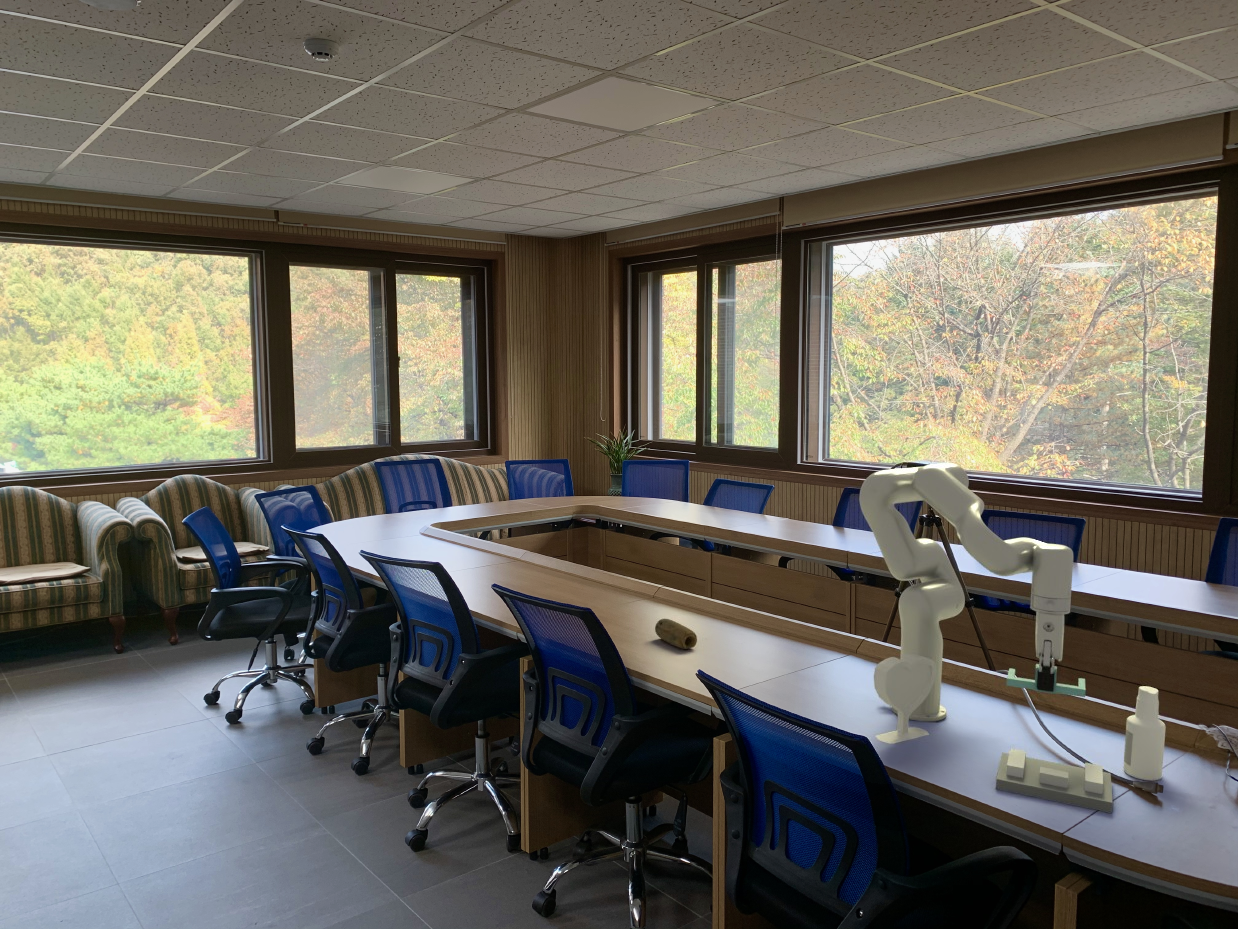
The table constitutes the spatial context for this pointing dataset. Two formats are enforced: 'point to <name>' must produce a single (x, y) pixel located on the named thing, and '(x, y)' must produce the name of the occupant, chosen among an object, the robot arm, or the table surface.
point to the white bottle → (1145, 738)
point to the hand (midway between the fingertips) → (1045, 687)
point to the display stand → (1055, 781)
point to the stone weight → (675, 634)
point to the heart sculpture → (904, 691)
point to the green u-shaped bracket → (1058, 688)
